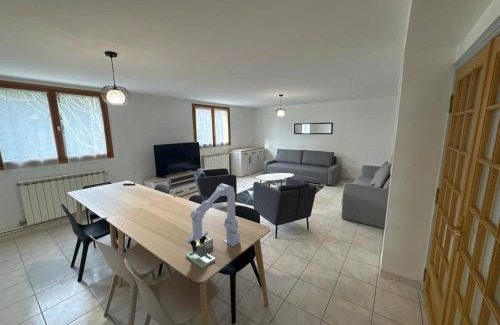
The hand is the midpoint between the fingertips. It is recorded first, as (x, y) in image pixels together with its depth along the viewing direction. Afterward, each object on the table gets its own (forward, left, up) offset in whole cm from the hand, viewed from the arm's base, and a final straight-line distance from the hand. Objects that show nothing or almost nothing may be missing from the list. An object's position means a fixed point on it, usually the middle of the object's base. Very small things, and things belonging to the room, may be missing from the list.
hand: (198, 249), depth 126 cm
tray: (-2, 0, -6) cm, 6 cm away
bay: (+6, -10, -6) cm, 13 cm away
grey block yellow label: (-2, 0, -2) cm, 2 cm away
